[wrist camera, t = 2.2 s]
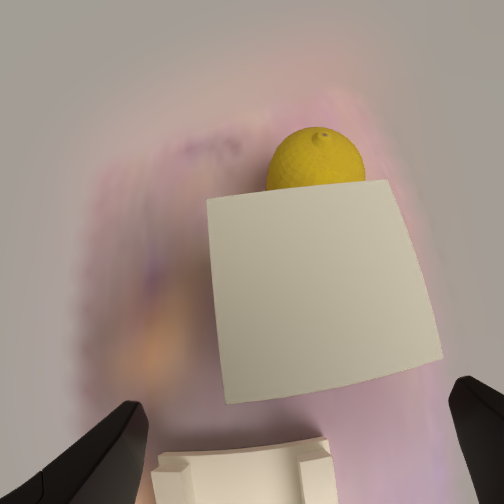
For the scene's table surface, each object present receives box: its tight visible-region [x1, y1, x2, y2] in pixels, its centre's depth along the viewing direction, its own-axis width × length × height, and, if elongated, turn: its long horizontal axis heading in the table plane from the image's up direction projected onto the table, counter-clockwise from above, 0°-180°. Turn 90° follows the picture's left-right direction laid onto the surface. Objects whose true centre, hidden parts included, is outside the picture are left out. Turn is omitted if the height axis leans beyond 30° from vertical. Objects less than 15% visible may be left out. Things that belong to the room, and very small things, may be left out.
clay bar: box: [206, 179, 443, 405], centre depth 12 cm, size 4×4×13 cm
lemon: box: [266, 127, 365, 191], centre depth 18 cm, size 6×6×8 cm
